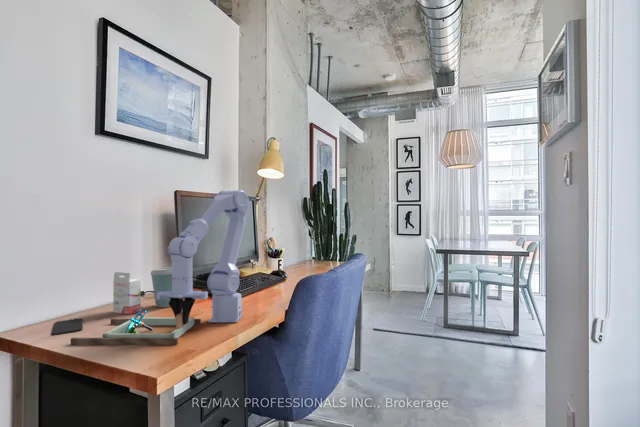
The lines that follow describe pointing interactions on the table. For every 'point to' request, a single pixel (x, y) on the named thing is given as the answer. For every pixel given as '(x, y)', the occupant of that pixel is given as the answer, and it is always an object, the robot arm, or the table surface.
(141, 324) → the stick construction toy
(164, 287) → the disposable coffee cup
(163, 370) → the table surface
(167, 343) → the guide rails
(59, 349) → the table surface
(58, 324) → the phone
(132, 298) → the ink cartridge box
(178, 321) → the open rectangular frame
